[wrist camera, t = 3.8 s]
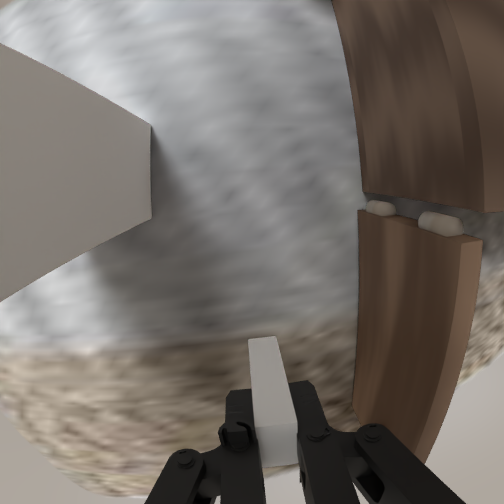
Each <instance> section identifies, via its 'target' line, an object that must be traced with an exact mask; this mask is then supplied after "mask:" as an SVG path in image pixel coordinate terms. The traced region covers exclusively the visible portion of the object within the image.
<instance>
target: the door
mask: <svg viewBox="0 0 504 504" xmlns="http://www.w3.org/2000/svg"><path fill="white" fill-rule="evenodd" d="M358 227H359V321H358V341H357V357H356V369H355V381H354V391H353V400H352V407H353V409H354V411H355V413H356V416H357V418H358V420H359V422H360V424H361V426H363V425H366V424H370V423H377V424H381V425H383V426H385V427H386V428H388V429H389V430H390V431H391V432H392V433H393V434H394V435H395V436H396V437H397V438H398V439H399V440H400V441H401V442H402V443H403V444H404V445H405V446H406V447H407V448H408V449H409V450H410V451H411V452H412V453H413V454H414V455H415V456H416V457H417V458H418V459H419V460H420V461H421V462H422V463H423V464H425V462H426V460H427V458H428V455H429V454H430V451H431V449H432V447H433V445H434V443H435V440H436V438H437V436H438V433H439V431H440V428H441V426H442V423H443V421H444V418H445V416H446V413H447V410H448V408H449V405H450V402H451V399H452V396H453V393H454V390H455V387H456V384H457V381H458V378H459V374H460V371H461V367H462V364H463V360H464V356H465V352H466V348H467V344H468V340H469V336H470V331H471V326H472V321H473V316H474V311H475V305H476V299H477V292H478V285H479V277H480V269H481V258H482V246H483V240H481V239H478V238H475V237H472V236H469V235H466V234H463V223H462V221H461V220H460V219H459V218H457V217H453V216H448V215H444V214H440V213H436V212H431V211H425V212H423V213H422V214H421V215H420V217H419V220H415V219H411V218H408V217H404V216H400V215H397V214H396V208H395V206H394V205H393V204H392V203H388V202H383V201H378V200H370V201H369V202H368V203H367V205H366V209H365V210H358Z"/></svg>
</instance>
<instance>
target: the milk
mask: <svg viewBox="0 0 504 504" xmlns="http://www.w3.org/2000/svg"><path fill="white" fill-rule="evenodd" d="M150 135H151V125H150V124H149V123H147V122H146V121H144V120H142V119H141V118H139V117H137V116H135V115H134V114H132V113H130V112H129V111H127V110H125V109H124V108H122V107H120V106H118V105H117V104H115V103H113V102H112V101H110V100H108V99H106V98H105V97H103V96H101V95H99V94H98V93H96V92H94V91H92V90H90V89H89V88H87V87H85V86H83V85H81V84H80V83H78V82H76V81H74V80H72V79H70V78H68V77H67V76H65V75H63V74H61V73H59V72H57V71H55V70H53V69H51V68H50V67H48V66H46V65H44V64H42V63H40V62H38V61H36V60H34V59H32V58H30V57H28V56H26V55H24V54H22V53H20V52H18V51H16V50H14V49H12V48H10V47H7V46H5V45H3V44H1V43H0V302H1V301H3V300H5V299H6V298H8V297H9V296H11V295H13V294H14V293H16V292H17V291H19V290H21V289H22V288H24V287H26V286H27V285H29V284H31V283H32V282H34V281H36V280H37V279H39V278H41V277H42V276H44V275H46V274H47V273H49V272H51V271H53V270H54V269H56V268H58V267H60V266H61V265H63V264H65V263H67V262H69V261H70V260H72V259H74V258H76V257H78V256H79V255H81V254H83V253H85V252H87V251H89V250H91V249H92V248H94V247H96V246H98V245H100V244H102V243H104V242H106V241H108V240H110V239H111V238H113V237H115V236H117V235H119V234H121V233H123V232H125V231H127V230H129V229H131V228H133V227H135V226H137V225H139V224H141V223H143V222H145V221H147V220H150V219H151V218H152V211H151V178H150Z"/></svg>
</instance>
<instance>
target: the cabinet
mask: <svg viewBox="0 0 504 504" xmlns="http://www.w3.org/2000/svg"><path fill="white" fill-rule="evenodd" d="M331 1H332V4H333V8H334V12H335V16H336V20H337V24H338V28H339V32H340V36H341V41H342V45H343V50H344V55H345V60H346V65H347V70H348V76H349V81H350V87H351V93H352V99H353V106H354V113H355V120H356V127H357V135H358V144H359V153H360V164H361V175H362V188H363V192H368V193H375V194H382V195H389V196H396V197H402V198H408V199H415V200H421V201H426V202H432V203H438V204H443V205H448V206H454V207H459V208H464V209H469V210H473V211H478V212H483V213H489V212H502V211H504V0H331Z"/></svg>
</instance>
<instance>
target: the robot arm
mask: <svg viewBox="0 0 504 504" xmlns="http://www.w3.org/2000/svg"><path fill="white" fill-rule="evenodd" d="M248 347H249V360H250V374H251V387H252V389H243V390H232V391H230V393H229V394H228V396H227V397H226V414H225V423H224V424H223V425H222V426H221V427H220V428H219V431H218V435H219V438H220V442H221V445H220V446H219V447H217V448H216V449H214V450H211V451H208V452H204V453H201V454H200V453H199V452H198V451H196V450H193V449H182V450H178V451H176V452H175V453H173V454H172V455H171V456H170V457H169V459H168V461H167V463H166V465H165V467H164V468H163V470H162V472H161V474H160V476H159V478H158V480H157V481H156V483H155V485H154V487H153V489H152V491H151V493H150V494H149V496H148V498H147V500H146V502H145V503H144V504H214V503H215V500H216V497H217V496H220V495H221V502H220V504H266V498H265V487H264V478H263V472H262V468H269V467H277V466H285V465H291V464H298V461H299V466H300V482H302V487H303V492H304V496H305V501H306V504H360V502H359V499H358V496H357V493H356V490H355V488H354V485H353V483H354V484H355V486H356V487H357V488H358V490H359V491H360V492H361V493H362V495H363V496H364V497H365V499H366V500H367V501H368V502H369V504H466V503H465V502H464V501H462V500H461V499H460V498H459V497H458V496H457V495H456V494H455V493H454V492H453V491H452V490H451V489H450V488H449V487H448V486H446V485H445V484H444V483H443V482H442V481H441V480H440V479H439V478H438V477H437V476H436V475H435V474H434V473H433V472H432V471H431V470H430V469H429V468H428V467H426V466H425V465H424V464H423V463H422V462H421V461H420V460H419V459H418V458H417V457H416V456H415V455H414V454H413V453H412V452H411V451H410V450H409V449H408V448H407V447H406V446H405V445H404V444H403V443H402V442H401V441H400V440H399V439H398V438H397V437H396V436H395V435H394V434H393V433H392V432H391V431H390V430H389V429H388V428H386V427H385V426H383V425H381V424H377V423H370V424H366V425H363V426H362V427H360V428H359V429H358V431H357V432H340V431H337V430H335V429H333V428H332V427H330V426H329V425H328V423H327V421H326V418H325V415H324V412H323V409H322V407H321V404H320V401H319V398H318V396H317V393H316V390H315V387H314V386H313V385H312V384H311V383H310V382H309V381H308V380H306V381H299V382H293V383H288V382H287V378H286V374H285V370H284V366H283V362H282V358H281V354H280V350H279V346H278V342H277V338H276V336H271V337H263V338H254V339H248Z"/></svg>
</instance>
